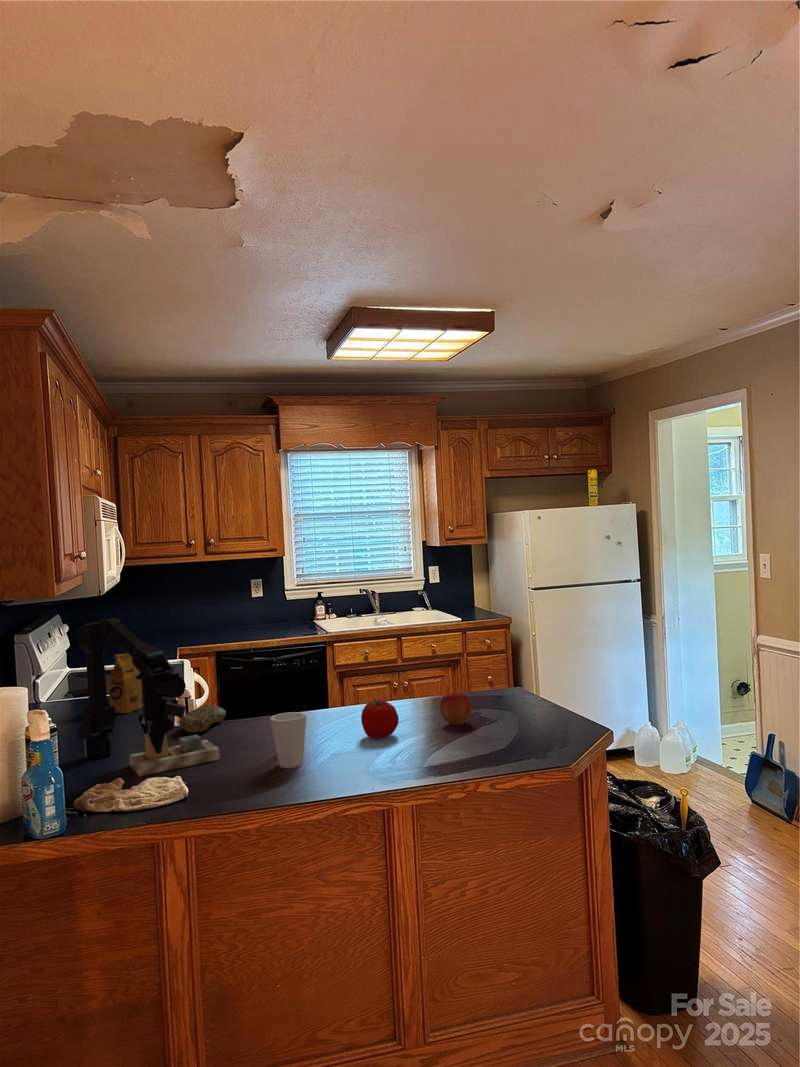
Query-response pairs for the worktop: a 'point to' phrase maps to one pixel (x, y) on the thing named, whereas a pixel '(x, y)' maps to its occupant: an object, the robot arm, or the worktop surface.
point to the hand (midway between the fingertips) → (156, 751)
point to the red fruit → (379, 719)
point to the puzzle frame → (176, 756)
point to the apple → (455, 708)
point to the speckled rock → (202, 718)
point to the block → (151, 751)
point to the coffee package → (124, 685)
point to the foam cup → (289, 738)
